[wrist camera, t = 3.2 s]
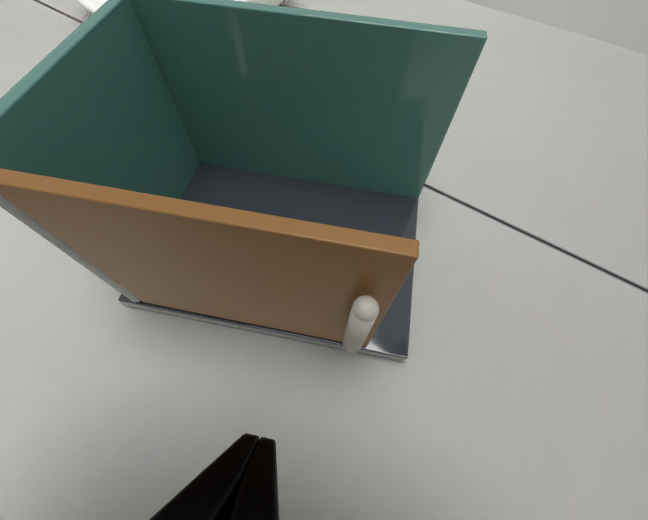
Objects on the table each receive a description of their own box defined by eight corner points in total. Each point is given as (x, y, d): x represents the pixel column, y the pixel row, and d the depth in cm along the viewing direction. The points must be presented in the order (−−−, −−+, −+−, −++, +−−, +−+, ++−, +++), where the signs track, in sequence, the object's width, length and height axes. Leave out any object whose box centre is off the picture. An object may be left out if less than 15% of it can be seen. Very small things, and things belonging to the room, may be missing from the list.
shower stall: (403, 362, 18) (511, 273, 8) (125, 306, 19) (-79, 169, 9) (415, 200, 24) (487, 30, 14) (199, 165, 25) (121, -15, 15)
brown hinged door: (364, 368, 17) (416, 297, 8) (119, 318, 18) (-72, 206, 9) (368, 334, 18) (420, 236, 9) (135, 288, 19) (-26, 160, 10)
